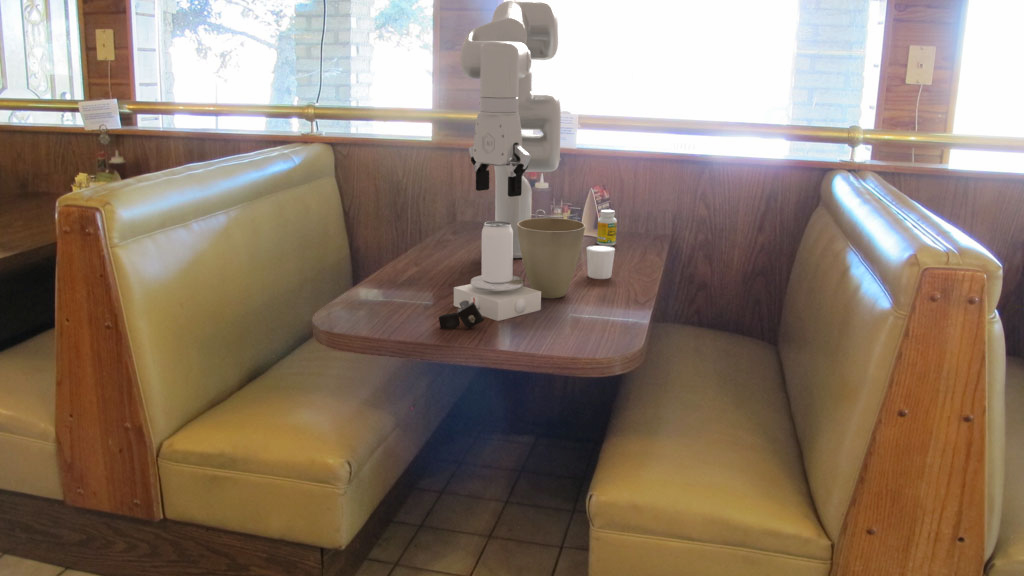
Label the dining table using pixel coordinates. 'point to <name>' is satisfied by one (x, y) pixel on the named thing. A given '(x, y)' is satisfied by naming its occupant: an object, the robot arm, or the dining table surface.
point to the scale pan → (512, 285)
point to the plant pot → (550, 253)
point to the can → (497, 252)
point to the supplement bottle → (607, 228)
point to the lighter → (462, 316)
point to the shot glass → (600, 261)
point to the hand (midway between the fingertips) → (498, 193)
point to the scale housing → (499, 301)
